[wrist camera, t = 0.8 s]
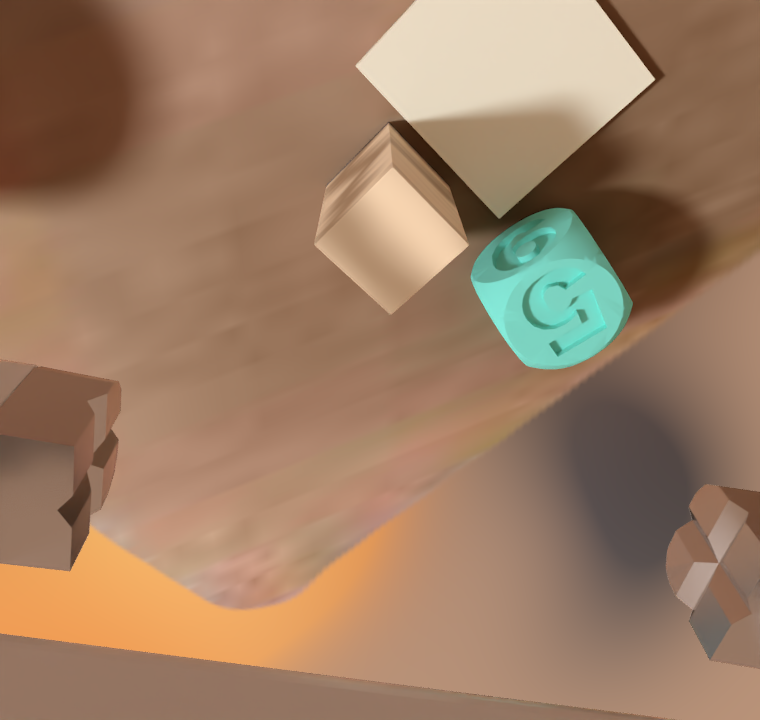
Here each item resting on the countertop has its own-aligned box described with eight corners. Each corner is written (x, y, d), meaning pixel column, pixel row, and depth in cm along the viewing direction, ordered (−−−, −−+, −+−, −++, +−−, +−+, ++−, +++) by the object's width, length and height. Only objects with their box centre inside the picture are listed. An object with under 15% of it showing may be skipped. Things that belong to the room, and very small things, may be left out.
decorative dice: (519, 335, 55) (540, 389, 48) (463, 256, 52) (476, 302, 45) (612, 278, 53) (648, 326, 46) (559, 192, 50) (589, 230, 43)
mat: (512, -106, 41) (515, -107, 41) (651, 77, 46) (655, 79, 46) (355, 64, 46) (355, 66, 45) (497, 215, 51) (499, 218, 50)
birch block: (388, 122, 48) (392, 167, 37) (448, 185, 50) (469, 245, 39) (326, 185, 50) (313, 244, 39) (387, 243, 52) (390, 314, 41)
